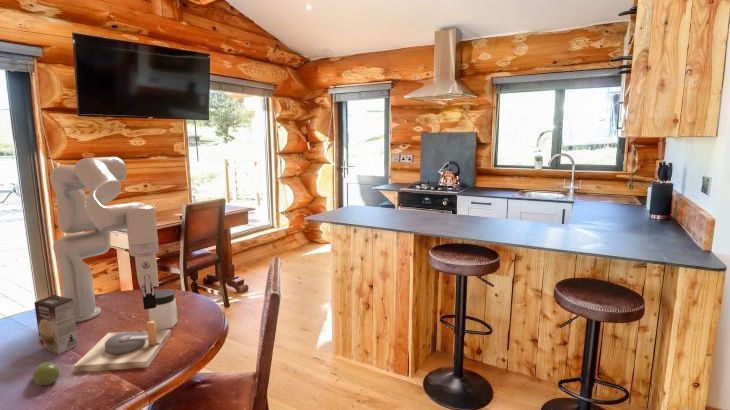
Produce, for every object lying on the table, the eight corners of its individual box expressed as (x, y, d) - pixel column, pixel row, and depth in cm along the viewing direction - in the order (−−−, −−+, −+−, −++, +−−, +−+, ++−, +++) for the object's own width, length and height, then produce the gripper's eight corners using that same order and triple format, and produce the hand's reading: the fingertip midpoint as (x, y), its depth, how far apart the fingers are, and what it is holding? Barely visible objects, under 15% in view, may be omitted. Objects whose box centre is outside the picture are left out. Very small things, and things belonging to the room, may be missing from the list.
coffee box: (39, 349, 130) (32, 302, 127) (60, 340, 136) (53, 294, 133) (59, 354, 127) (52, 305, 124) (79, 344, 133) (73, 298, 130)
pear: (34, 371, 108) (29, 363, 115) (37, 391, 108) (32, 381, 115) (59, 363, 112) (53, 355, 118) (63, 381, 112) (56, 373, 119)
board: (74, 372, 117) (73, 364, 117) (108, 338, 137) (108, 332, 136) (147, 367, 119) (146, 360, 119) (171, 334, 139) (170, 328, 139)
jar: (151, 333, 140) (148, 300, 138) (148, 324, 147) (145, 292, 145) (179, 326, 145) (176, 294, 143) (175, 318, 152) (173, 287, 150)
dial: (98, 355, 122) (95, 333, 120) (115, 338, 132) (113, 317, 131) (150, 352, 123) (147, 330, 122) (163, 335, 134) (161, 314, 133)
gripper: (159, 252, 113) (165, 314, 116) (157, 241, 126) (162, 297, 129) (129, 256, 109) (135, 320, 112) (129, 244, 122) (135, 301, 125)
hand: (150, 307), depth 121 cm, fingers closed
